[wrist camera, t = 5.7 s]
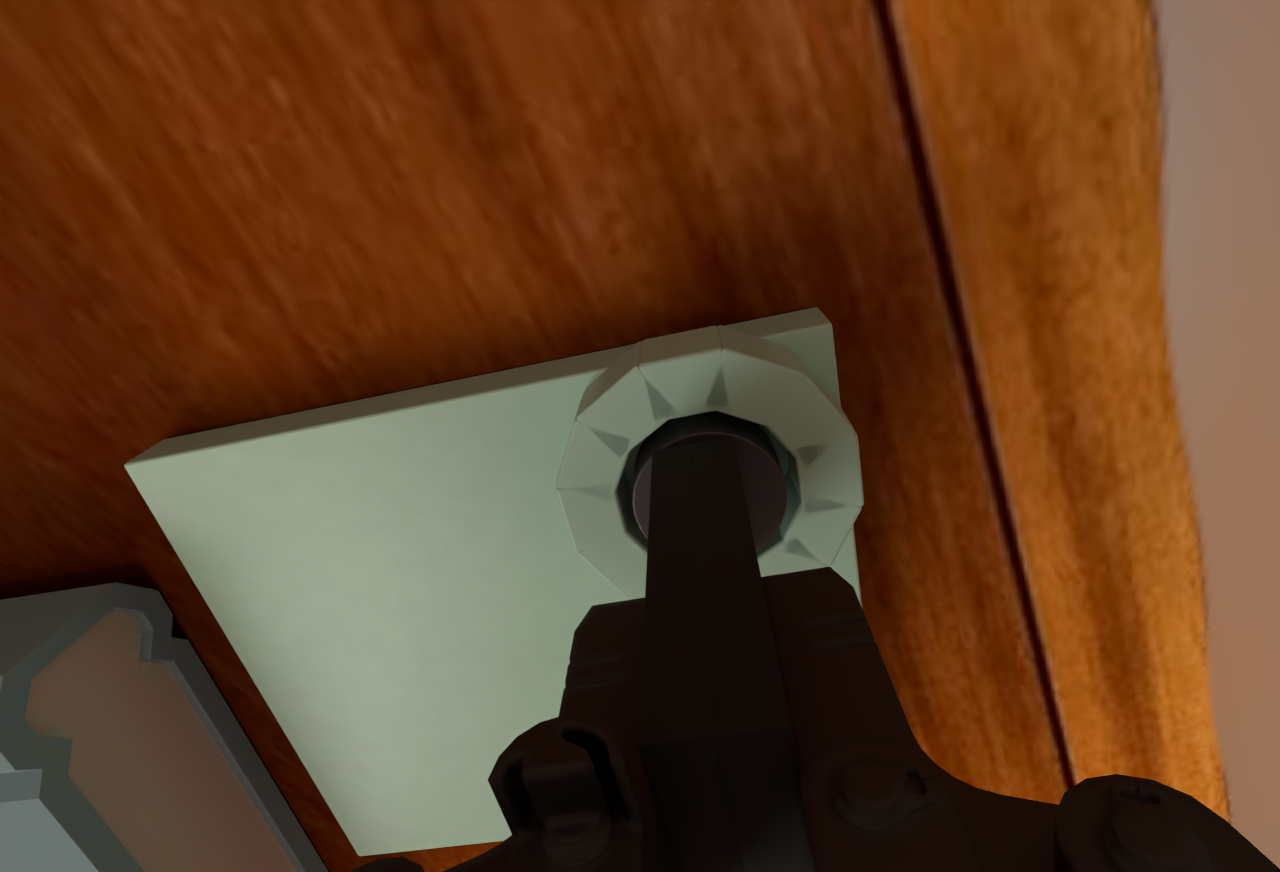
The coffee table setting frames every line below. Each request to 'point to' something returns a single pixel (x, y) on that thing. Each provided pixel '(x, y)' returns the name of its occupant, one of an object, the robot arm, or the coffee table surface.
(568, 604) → the scale
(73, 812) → the book
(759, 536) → the button
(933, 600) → the coffee table surface
